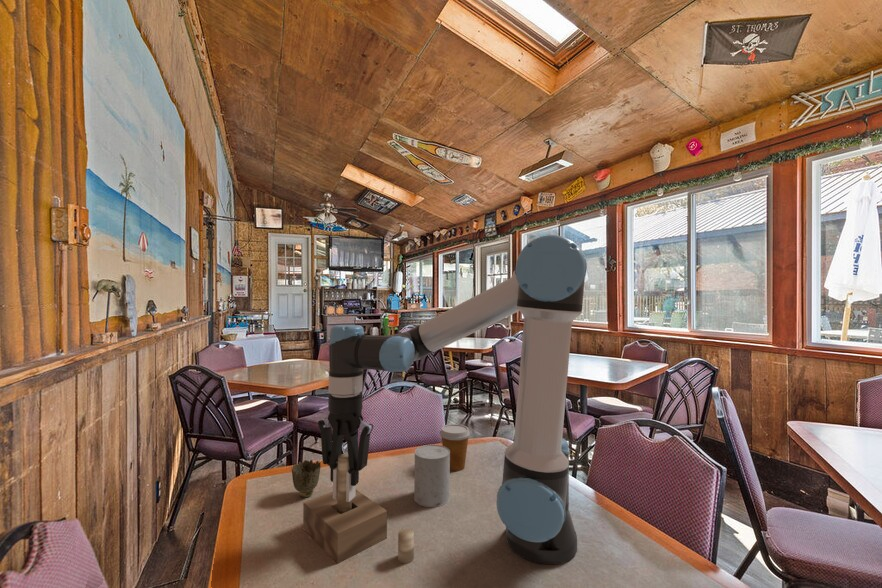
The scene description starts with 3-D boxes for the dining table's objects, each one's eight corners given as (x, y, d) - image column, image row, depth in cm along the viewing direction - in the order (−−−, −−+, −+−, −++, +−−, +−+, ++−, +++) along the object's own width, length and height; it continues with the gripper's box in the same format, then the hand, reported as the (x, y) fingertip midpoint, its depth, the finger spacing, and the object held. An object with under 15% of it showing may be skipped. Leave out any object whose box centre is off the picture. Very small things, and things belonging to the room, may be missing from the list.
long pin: (354, 518, 87) (355, 456, 87) (341, 524, 84) (342, 460, 85) (346, 512, 89) (347, 452, 89) (334, 518, 87) (335, 456, 87)
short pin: (416, 558, 78) (417, 533, 78) (404, 565, 76) (404, 540, 76) (407, 550, 81) (407, 526, 81) (394, 557, 78) (395, 533, 79)
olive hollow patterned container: (284, 499, 101) (285, 468, 101) (303, 486, 108) (303, 457, 108) (308, 504, 98) (308, 473, 98) (325, 491, 105) (326, 461, 105)
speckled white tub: (446, 509, 97) (446, 460, 97) (409, 505, 99) (410, 457, 99) (452, 490, 106) (452, 446, 106) (419, 487, 108) (419, 443, 108)
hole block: (386, 538, 85) (387, 510, 85) (337, 563, 77) (338, 533, 77) (349, 509, 96) (349, 485, 96) (303, 528, 88) (303, 502, 88)
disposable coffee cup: (474, 464, 123) (475, 427, 123) (460, 476, 115) (460, 436, 115) (449, 458, 128) (449, 421, 128) (433, 468, 120) (434, 430, 120)
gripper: (384, 392, 88) (383, 495, 88) (326, 386, 93) (324, 483, 93) (368, 400, 81) (366, 512, 80) (305, 393, 86) (304, 499, 86)
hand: (344, 497), depth 87 cm, fingers closed on long pin, 3 cm apart
